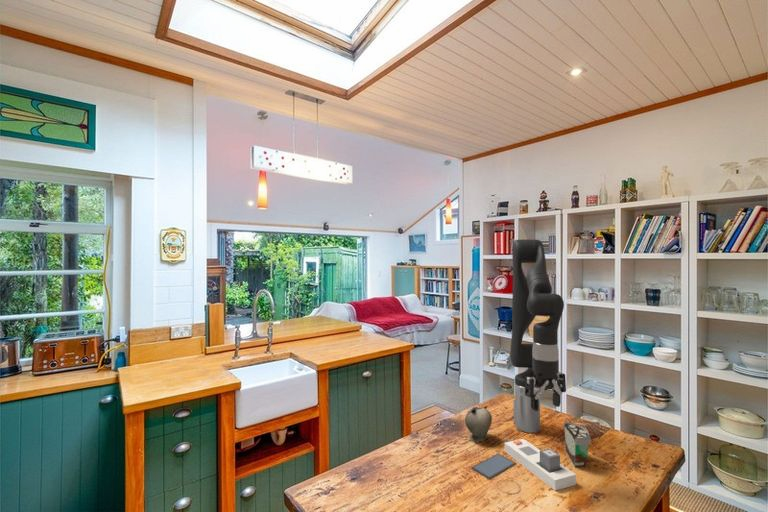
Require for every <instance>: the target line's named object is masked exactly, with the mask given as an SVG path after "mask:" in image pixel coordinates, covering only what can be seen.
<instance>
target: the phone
mask: <svg viewBox="0 0 768 512" xmlns="http://www.w3.org/2000/svg"><path fill="white" fill-rule="evenodd" d="M515 465H517V462H516V461H514V460H512V459H510V458H508V457H506V456H505V455H502V454H501V453H496V454H494V455H493V456H491V457H488V458H487V459H485V460H483V461H481V462H479V463H477V464H475V465H473V466H471V467H470V469H471V470H473V471H474V472H476V473H477V474H478V475H481V476H482V477H484V478H486V479H487V480H491V479H493V478H495V477H497V476H498V475H500V474H502V473H503V472H506V471H507V470H508V469H510V468H512V467H514V466H515Z"/></svg>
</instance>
